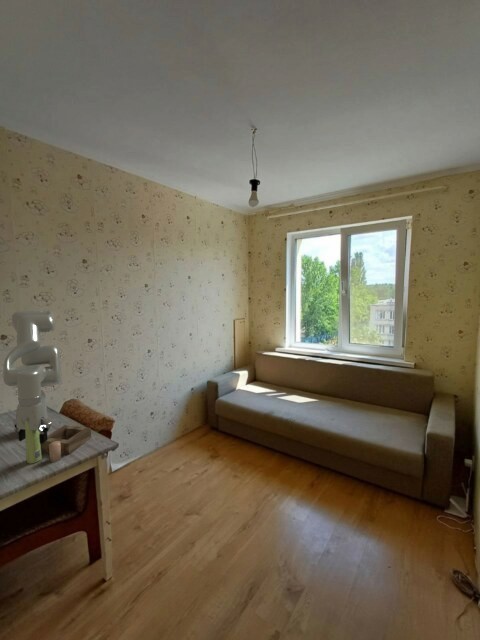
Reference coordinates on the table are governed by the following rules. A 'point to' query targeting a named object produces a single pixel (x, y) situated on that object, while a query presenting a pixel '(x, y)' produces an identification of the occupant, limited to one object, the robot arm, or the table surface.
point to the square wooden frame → (72, 432)
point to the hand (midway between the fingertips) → (33, 440)
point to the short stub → (55, 451)
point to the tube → (32, 445)
